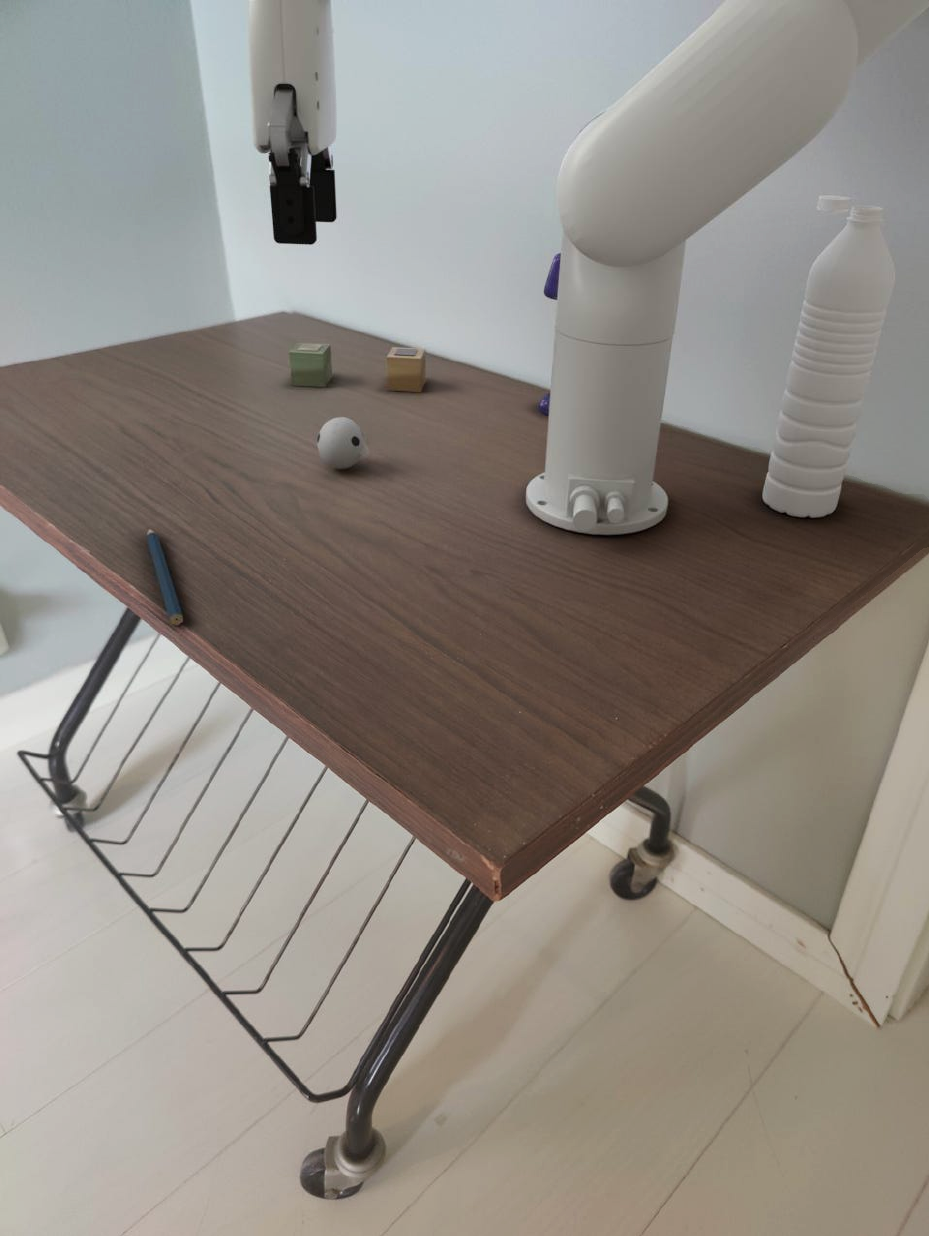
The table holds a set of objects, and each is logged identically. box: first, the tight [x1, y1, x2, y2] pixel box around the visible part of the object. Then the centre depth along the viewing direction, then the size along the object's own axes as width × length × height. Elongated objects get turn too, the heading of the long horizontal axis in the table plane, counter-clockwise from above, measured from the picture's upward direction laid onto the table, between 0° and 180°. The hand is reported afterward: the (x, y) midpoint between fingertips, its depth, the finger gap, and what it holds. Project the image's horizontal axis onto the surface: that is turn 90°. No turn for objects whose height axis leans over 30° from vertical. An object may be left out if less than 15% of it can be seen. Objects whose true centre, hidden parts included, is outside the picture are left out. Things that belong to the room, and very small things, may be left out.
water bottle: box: [762, 194, 896, 519], centre depth 77 cm, size 9×6×25 cm
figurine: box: [316, 416, 370, 470], centre depth 87 cm, size 5×5×5 cm
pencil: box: [146, 528, 184, 626], centre depth 70 cm, size 1×1×15 cm
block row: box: [288, 342, 427, 393], centre depth 108 cm, size 4×16×4 cm, turn 84°
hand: (307, 231), depth 74 cm, fingers open, 9 cm apart
